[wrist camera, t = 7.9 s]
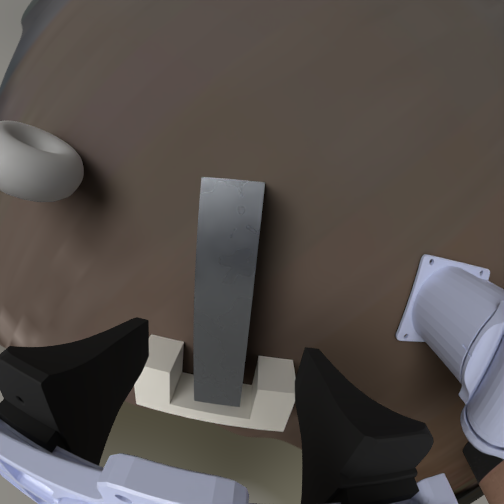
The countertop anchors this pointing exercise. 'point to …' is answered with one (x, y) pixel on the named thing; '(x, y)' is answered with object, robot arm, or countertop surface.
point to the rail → (224, 285)
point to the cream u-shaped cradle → (247, 415)
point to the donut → (37, 164)
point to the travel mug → (487, 473)
